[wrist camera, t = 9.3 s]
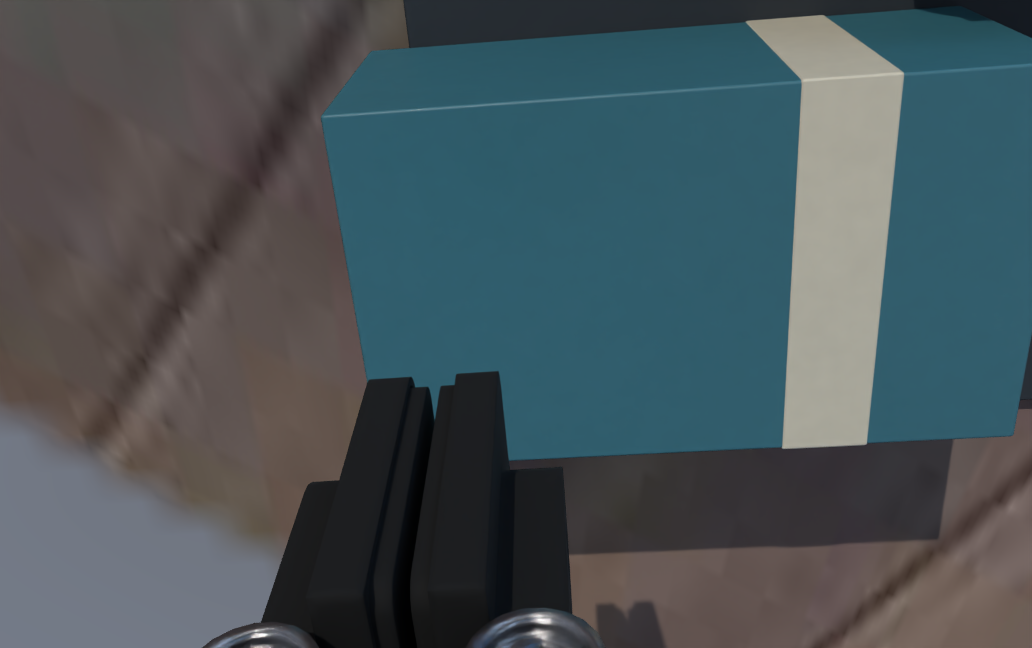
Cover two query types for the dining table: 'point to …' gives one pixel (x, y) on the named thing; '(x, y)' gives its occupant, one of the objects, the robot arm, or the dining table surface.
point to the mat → (656, 24)
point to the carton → (701, 229)
